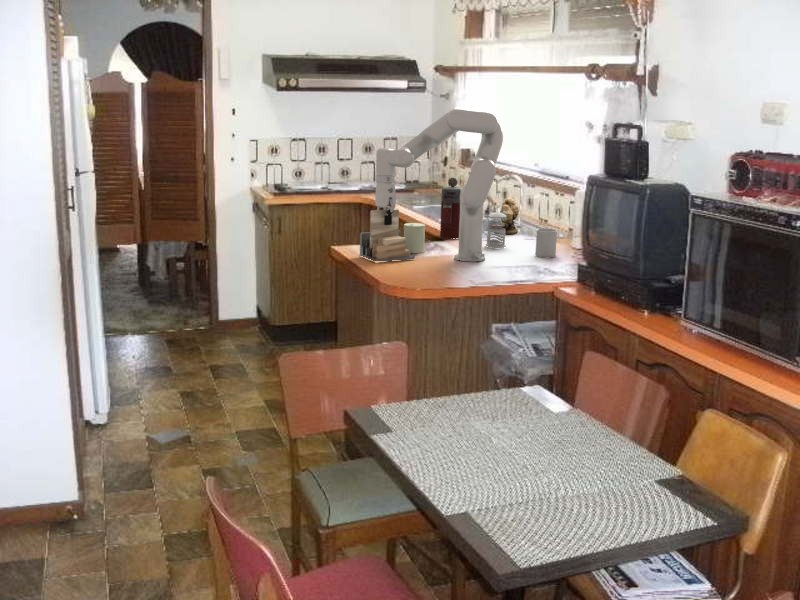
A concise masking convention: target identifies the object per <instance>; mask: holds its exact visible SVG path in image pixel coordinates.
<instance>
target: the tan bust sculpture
mask: <svg viewBox="0 0 800 600" xmlns="http://www.w3.org/2000/svg"><path fill="white" fill-rule="evenodd" d="M501 205H502V206H501V207H500V211H499V213H503V214H505V215H506V218H500V221H501V224H504V225H505V226H504V227H502V228H505V236H514V235H517V234H518V232H519V231H518V229H517V227H516V225H515V220H516V219H517V218H518V216H519V206H518V205H517V202H516V200H515V199H514V198H512V197H506V198H505V200H504V201H503V202H502V204H501ZM493 230H495V229H493ZM493 233H495V232H493ZM495 234H497V233H495Z"/></svg>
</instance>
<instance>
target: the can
mask: <svg viewBox="0 0 800 600" xmlns="http://www.w3.org/2000/svg"><path fill="white" fill-rule="evenodd" d="M425 232H426V224H425V223H419V222H406V223H404V224H403V237H404V238H406V249H407V250H410V254H421V253H422V252H423V253H425V242H426V241H425V237H426V236H425V234H426V233H425Z"/></svg>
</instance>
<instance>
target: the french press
mask: <svg viewBox="0 0 800 600" xmlns="http://www.w3.org/2000/svg"><path fill="white" fill-rule="evenodd" d="M495 193H496V194H497V197H499V194H501V193H502V192H501V190H500V189H499V190H497V191H496V192H495ZM496 210H497V211H496V212H492V213H490V214H488V215H487V216H488V218H486V219H483V224H484V223H485V222H486V221H487V222H488V223H489V221H490V219H489V218H493V219H501V218H506V215H505V214H503V213H500V211H499V206H497V209H496ZM488 226H489V227H488V228H487V233H485V232H484V231H482V234H483V235H485V236H486V244H485V245H486V246H488V247H492V248H491V249H495V248H501V249H505V248H504V247H506V246H507V244H506V235H505V228H502V227H504V226H505V225H504V224H502V223H495V222H494V223H489V224H488ZM494 229H495V230H494ZM494 232H495V233H494ZM496 233H497V234H496ZM488 247H487V248H488ZM506 248H507V247H506Z"/></svg>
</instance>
